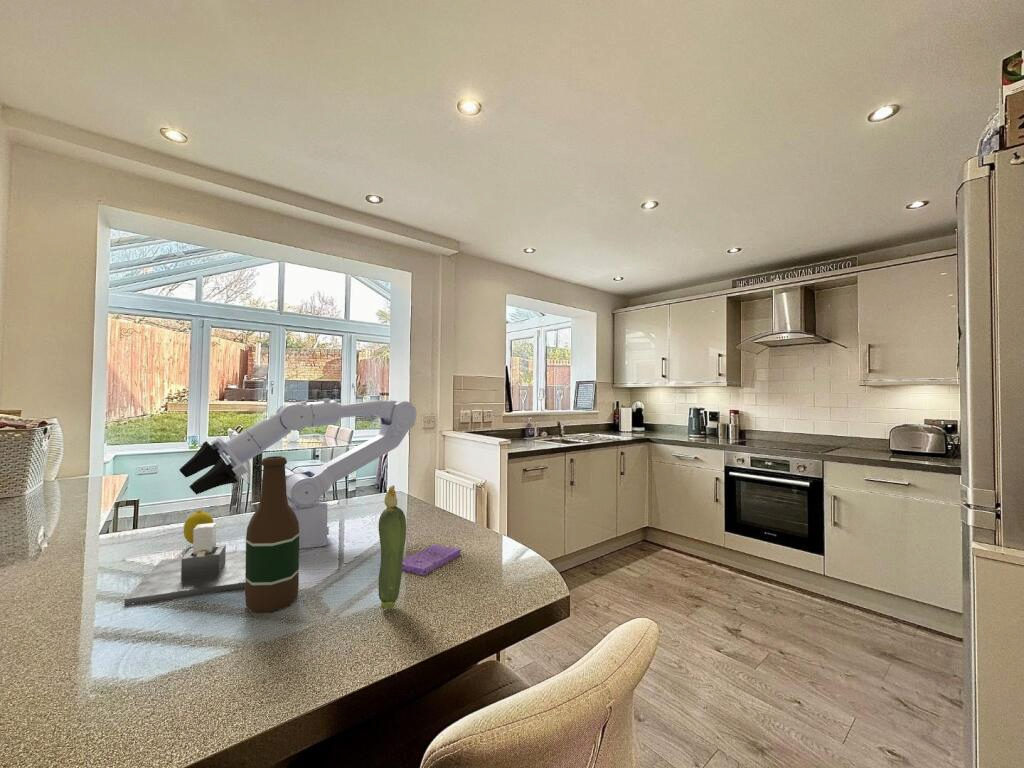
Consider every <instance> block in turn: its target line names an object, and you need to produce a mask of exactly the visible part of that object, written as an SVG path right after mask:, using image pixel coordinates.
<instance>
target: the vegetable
mask: <svg viewBox="0 0 1024 768" xmlns="http://www.w3.org/2000/svg"><path fill="white" fill-rule="evenodd" d="M384 505H385V506H386V508H385V509H384V510H383V511H382V512H381V514H380V516H379V520H378V534H379V535H378V536H379V542H380V543H379V545H380V565H379V566H380V567H379V571H378V572H379V574H378V598H379V600H380V602H381V603H380V605H381V609H382V611H385V610H386V609H392V608H395V606H396V601H397V600H398V598H399V595H400V589H401V583H402V582H401V581H402V575H403V570H402V562H403V559H404V551H405V545H406V541H407V519H406V516H405V513H404V511H403V510H402V509H401V507H398V497H397V493H396V488H395V485H391V486H389V487H388V491H387V492H386V494H385V497H384Z"/></svg>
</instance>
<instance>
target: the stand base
mask: <svg viewBox="0 0 1024 768" xmlns="http://www.w3.org/2000/svg"><path fill="white" fill-rule="evenodd" d="M245 573H246V549H244V550H236V551H228V552H226V544H218V545H216V551H215V553H214V554H206V551H203V552H198V553H197V555H196V556H193V547H192V548H191V547H190V548H189V549H188V551H187V552H186V553H185V554H184V555H183V557H177V558H166V559H161V560H160V561H159V562H158V563H157V564H156V566H154V568H153V569H152V570H151V571H149V573H148V574H146V576H145V577H144V578H143V579H142V580H141V582H139V583H138V584H137V585H136V586H135V588H134V589H133V590H131V592H130V593H129V594H128V595H127V596H126V597H125V598H124V606H128V605H127V604H131V605H133V604H132V603H138V604H141V603H140V602H144V603H148V602H147V601H151V602H156V601H157V602H158V601H164V600H172V599H179V598H185V596H186V597H190V596H191V597H193V596H198V595H205V594H206V595H207V594H213V593H219V592H226V591H232V590H238V589H239V590H240V589H245ZM178 597H179V598H178ZM171 598H172V599H171Z"/></svg>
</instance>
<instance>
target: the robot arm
mask: <svg viewBox="0 0 1024 768" xmlns="http://www.w3.org/2000/svg"><path fill="white" fill-rule="evenodd" d="M363 416H374V417H376V418H379V419H380V429H379V433H378V434H377V435H375V436H374V437H372V438H370V439H368V440H366V441H364V442H363V443H361V444H358V445H357V446H355V447H353V448H352V449H350V450H348V451H346V452H344V453H341V454H339V456H336V457H335V458H333V459H330V460H329V461H327V462H325V463H323V464H321V465H319V466H315V467H314V466H313V467H312V468H308V469H307V470H305V471H299V472H293V473H291V474H289V475H288V476H286V493H287V500H288V505H289V506H290V508H291V509H292V510H293V511H294V513H295V515H296V517H297V520H298V522H299V550H301V549H309V548H310V549H311V548H318V547H326V546H327V545H328V536H329V534H330V526H328V502H319V499H320V497H321V496H323V494H325V493H327V492H328V491H329V490H330V489H331V488H332V485H334V484H335V483H337V482H338V481H340V480H342V479H344V478H345V477H347V476H349V475H350V474H352V473H354V472H357V471H358V470H359V469H361V468H363V467H365V466H366V465H368V464H370V463H372V462H373V461H375V460H377V459H379V458H381V457H382V456H384V455H386V454H388V453H389V452H391V451H392V450H394V449H396V448H398V447H399V445H400V444H401V443H402V441H403V440H404V438H405V436H406V435H407V433H408V432H409V431H410V430H411V429H412V428H413V427H414V426H415V424H416V420H417V409H416V406H414V404H413V403H412V402H410V401H406V400H405V401H396V400H378V399H375V400H374V399H373V400H367V401H366V400H365V401H359V402H353V403H347V404H344V403H343V404H340V403H339V402H338V401H336V400H333V399H331V400H330V398H328V397H327V398H322V401H313V402H312V401H311V402H307V400H304V401H303V400H301V402H300V403H296V404H293V403H289V404H285V405H281V406H280V407H278V409H277V411H276V412H275V413H273V414H271V415H269V416H268V417H265V418H264V419H262V420H260V421H259V422H257V423H254V424H253V425H252V426H250V427H248V428H247V429H245V430H244V431H242V432H240V433H238V434H237V435H235V436H233V437H232V438H230V439H229V440H227V441H224V439H222V438H221V437H218V438H216V439H215V440H213V441H211V444H210V443H209V442H208V441H204V442H203V443H202V445H201V446H200V448H199V449H198V450H197V452H196V453H195V454H193V456H192V457H191V458H190V459H189V460H188V461H187V462H186V463H185V464H184V465H182V466H181V467H180V469H179V472H180V473H181V474H182V475H183V476H184V478H188V477H191V476H193V475H195V474H197V473H199V472H201V471H203V470H204V469H207V468H210V467H211V468H210V469H209V470H208V471H207V472H206V473H204V474H203V475H202V476H200V477H198V479H196V480H195V481H193V483H192V484H191V485H189V487H188V488H189V489H190V490H191V491H192V492H193V493H194V494H195V495H199V494H201V493H204V492H207V491H209V490H211V489H214V488H217V487H220V486H225V485H231V484H235V483H238V481H239V480H238V478H240V477H242V476H243V475H245V474H246V473H247V472H249V471H248V469H246V467H245V466H244V464H245V463H246V462H248V461H250V460H252V459H253V458H254V457H256V456H258V455H259V454H261V453H262V452H264V451H265V450H267V449H269V448H270V447H272V446H273V445H275V444H276V443H278V442H280V441H281V440H282V439H283V438H285V437H286V436H287V435H289V434H291V433H292V431H298V432H299V431H302V430H305V428H315V427H323V426H331V425H337V424H338V423H340V421H341V420H342V419H343V418H352V417H363ZM228 456H229V457H228ZM227 457H228V458H227Z"/></svg>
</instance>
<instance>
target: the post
mask: <svg viewBox="0 0 1024 768" xmlns="http://www.w3.org/2000/svg"><path fill="white" fill-rule="evenodd" d="M216 544H217V522H214V523H209V524H199V525H197V526H196V527H195V528H194V529H193V544H192V548H193V556H196V555H197V553H198V552H203V551H206V554H214V553H215V551H216Z"/></svg>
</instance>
